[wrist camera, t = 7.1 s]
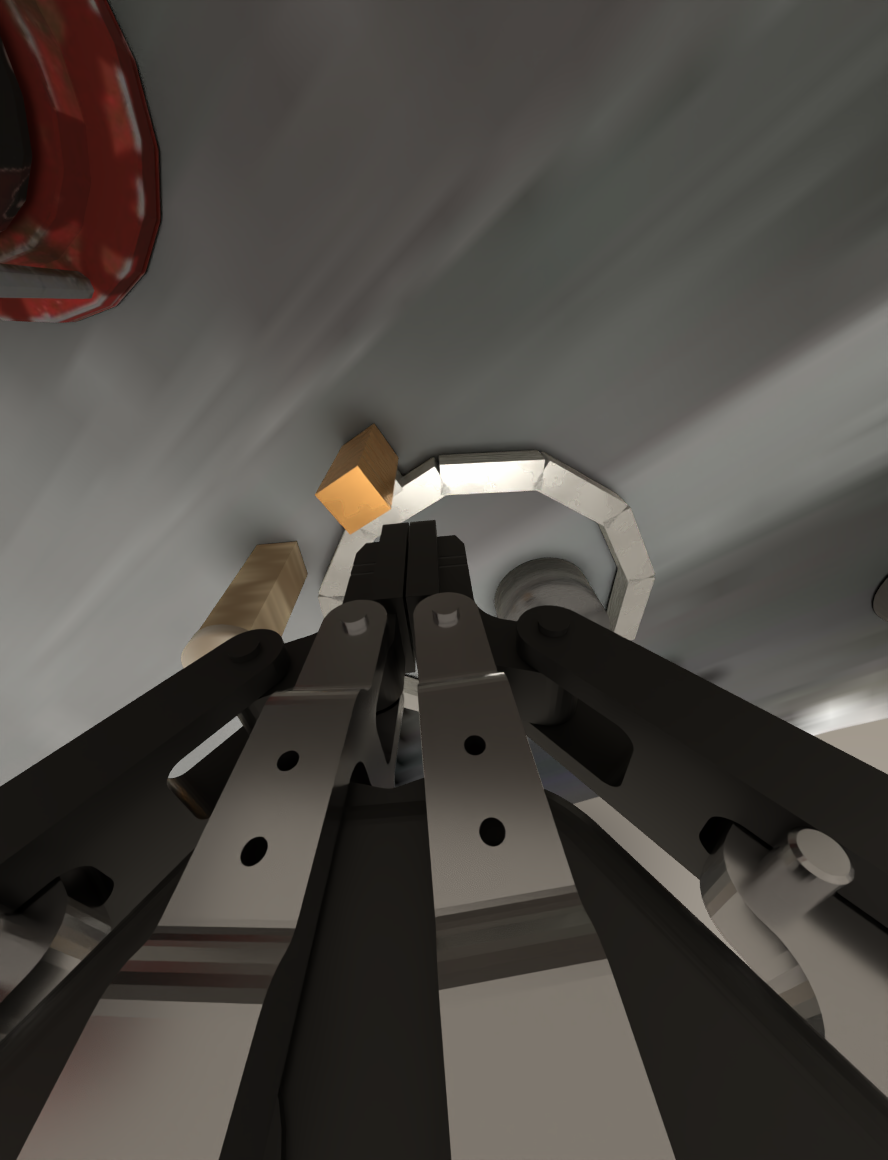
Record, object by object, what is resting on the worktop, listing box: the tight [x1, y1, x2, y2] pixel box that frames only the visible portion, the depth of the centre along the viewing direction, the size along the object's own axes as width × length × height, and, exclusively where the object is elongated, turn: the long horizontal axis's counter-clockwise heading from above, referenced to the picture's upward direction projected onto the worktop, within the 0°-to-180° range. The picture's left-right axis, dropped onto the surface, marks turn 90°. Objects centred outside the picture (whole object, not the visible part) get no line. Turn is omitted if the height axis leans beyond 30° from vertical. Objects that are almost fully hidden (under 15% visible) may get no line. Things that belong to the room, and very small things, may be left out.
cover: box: [495, 558, 610, 630], centre depth 31 cm, size 8×8×8 cm
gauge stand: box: [181, 541, 307, 668], centre depth 26 cm, size 4×4×11 cm
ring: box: [315, 424, 655, 711], centre depth 29 cm, size 26×30×8 cm
